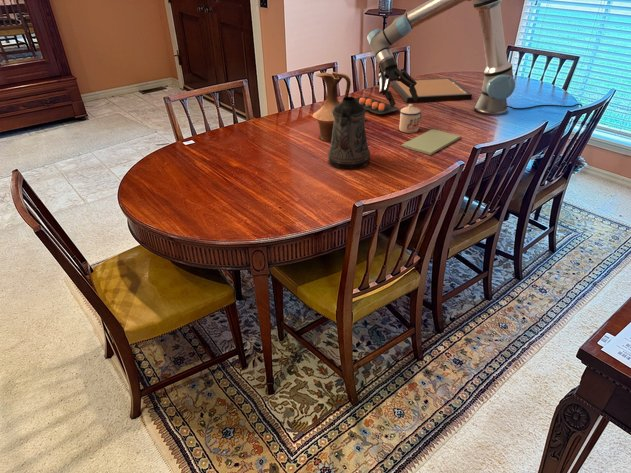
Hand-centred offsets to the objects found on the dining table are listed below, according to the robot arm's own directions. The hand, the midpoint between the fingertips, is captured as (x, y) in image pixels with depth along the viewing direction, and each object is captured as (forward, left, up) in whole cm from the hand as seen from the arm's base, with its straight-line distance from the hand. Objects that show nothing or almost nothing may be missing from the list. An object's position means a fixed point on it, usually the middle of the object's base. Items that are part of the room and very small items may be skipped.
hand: (405, 102), depth 197 cm
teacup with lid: (-2, +5, -11) cm, 12 cm away
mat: (-6, +22, -11) cm, 25 cm away
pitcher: (+35, +9, -11) cm, 37 cm away
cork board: (-29, -51, -11) cm, 60 cm away
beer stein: (+32, +37, -11) cm, 50 cm away
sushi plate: (+16, -25, -11) cm, 32 cm away
